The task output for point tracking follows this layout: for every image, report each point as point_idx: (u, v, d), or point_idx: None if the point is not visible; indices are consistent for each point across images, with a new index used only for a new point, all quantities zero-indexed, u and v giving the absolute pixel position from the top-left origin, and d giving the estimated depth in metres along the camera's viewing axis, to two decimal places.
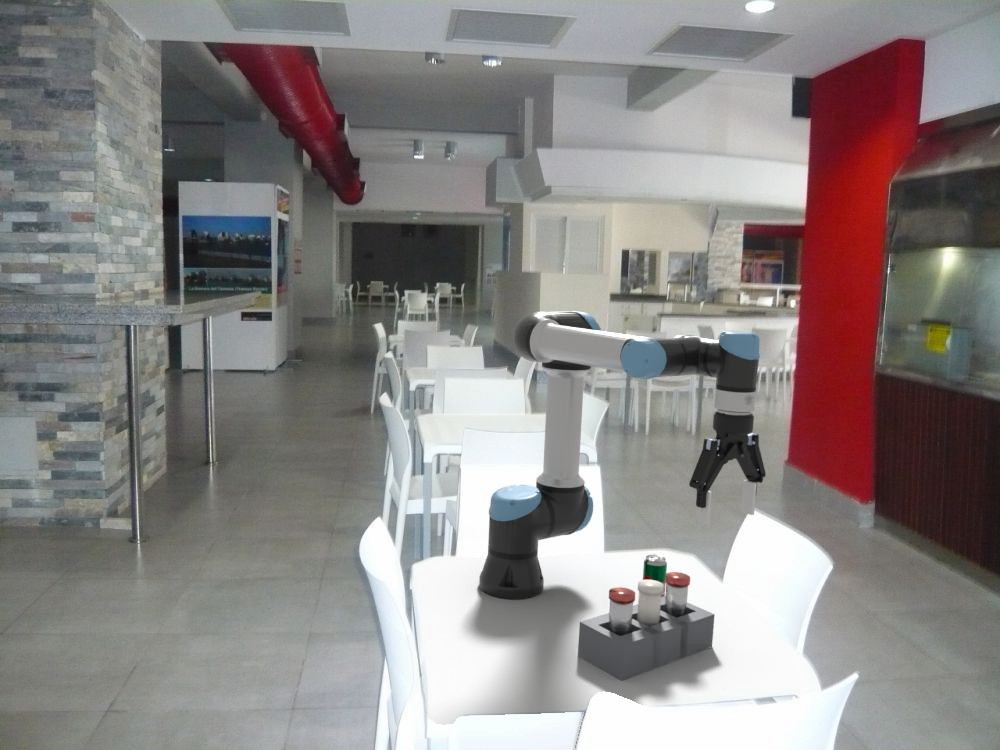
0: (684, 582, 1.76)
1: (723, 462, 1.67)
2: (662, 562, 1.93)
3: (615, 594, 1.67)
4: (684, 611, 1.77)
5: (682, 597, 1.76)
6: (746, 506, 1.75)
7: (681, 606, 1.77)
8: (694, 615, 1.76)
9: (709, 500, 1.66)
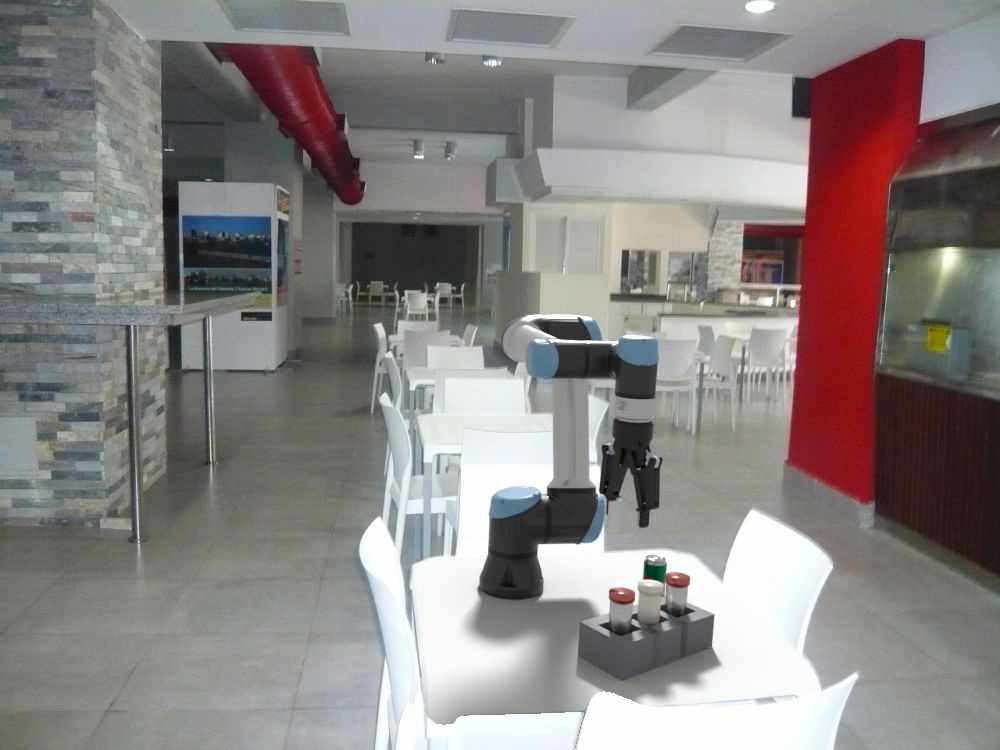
0: (684, 582, 1.76)
1: (616, 469, 1.66)
2: (662, 562, 1.93)
3: (615, 594, 1.67)
4: (684, 611, 1.77)
5: (682, 597, 1.76)
6: None
7: (681, 606, 1.77)
8: (694, 615, 1.76)
9: (609, 509, 1.68)
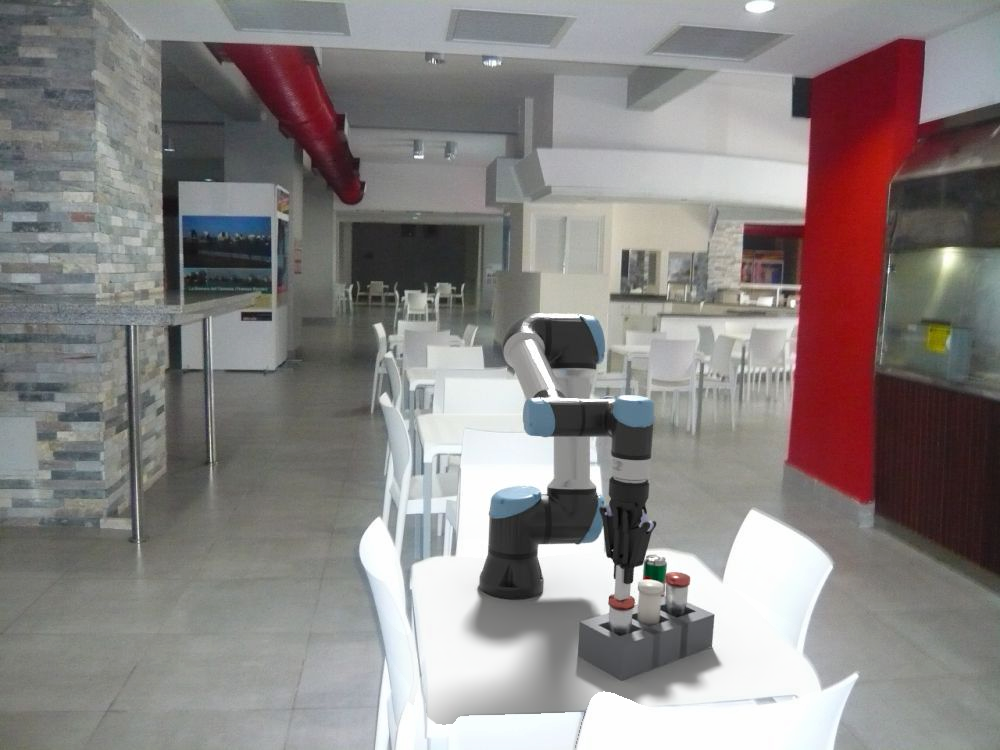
0: (684, 582, 1.76)
1: (616, 529, 1.67)
2: (662, 562, 1.93)
3: (615, 600, 1.67)
4: (684, 611, 1.77)
5: (682, 597, 1.76)
6: None
7: (681, 606, 1.77)
8: (694, 615, 1.76)
9: (616, 573, 1.67)
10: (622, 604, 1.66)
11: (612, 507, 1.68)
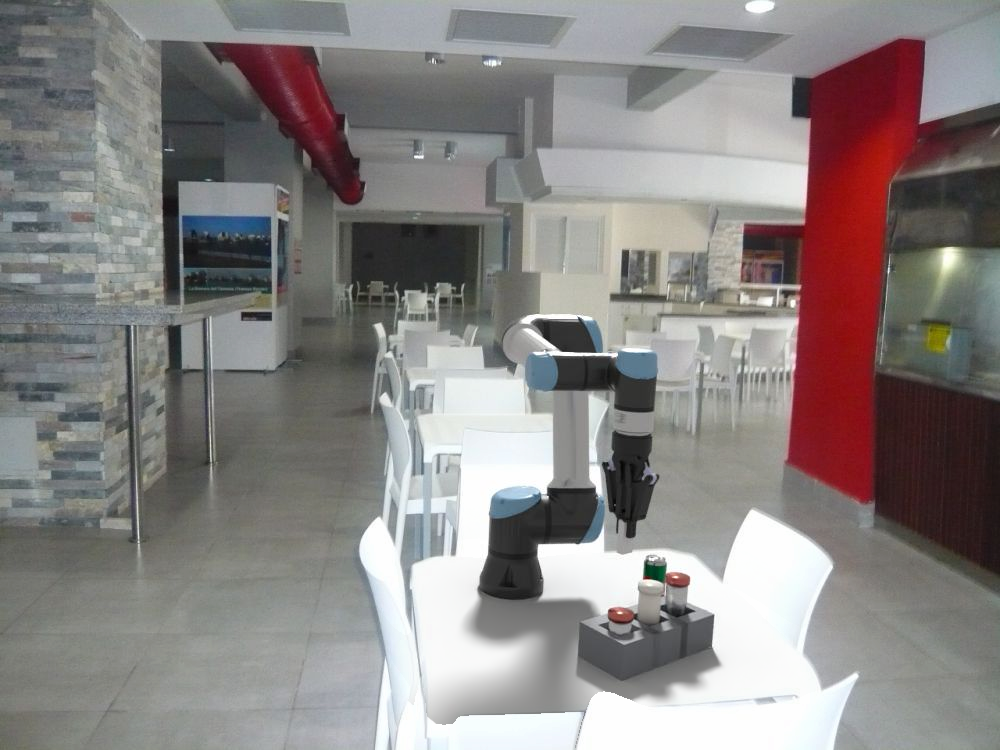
0: (684, 582, 1.76)
1: (619, 483, 1.65)
2: (662, 562, 1.93)
3: (614, 614, 1.68)
4: (684, 611, 1.77)
5: (682, 597, 1.76)
6: None
7: (681, 606, 1.77)
8: (694, 615, 1.76)
9: (619, 528, 1.66)
10: (621, 618, 1.66)
11: (615, 461, 1.66)
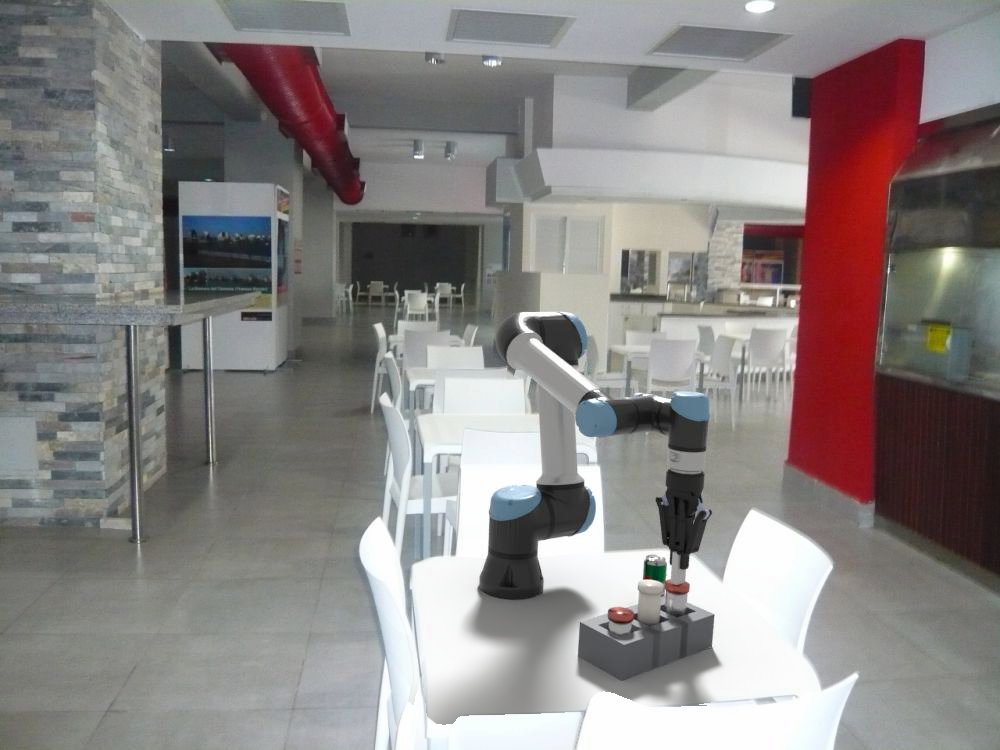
0: (683, 589, 1.76)
1: (673, 518, 1.76)
2: (662, 562, 1.93)
3: (614, 614, 1.68)
4: None
5: (681, 604, 1.77)
6: None
7: (680, 613, 1.77)
8: (694, 615, 1.76)
9: (672, 560, 1.77)
10: (621, 618, 1.66)
11: (668, 497, 1.77)
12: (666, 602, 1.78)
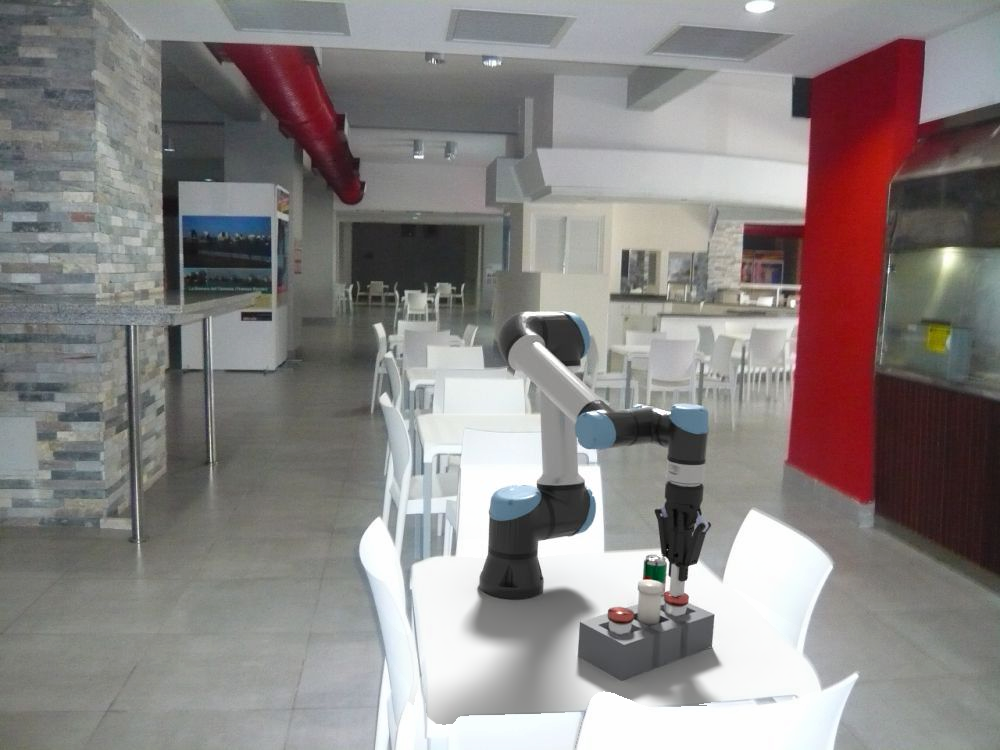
0: (683, 601, 1.76)
1: (672, 530, 1.77)
2: (662, 562, 1.93)
3: (614, 614, 1.68)
4: None
5: (681, 615, 1.77)
6: None
7: None
8: (694, 615, 1.76)
9: (671, 571, 1.77)
10: (621, 618, 1.66)
11: (667, 509, 1.78)
12: None
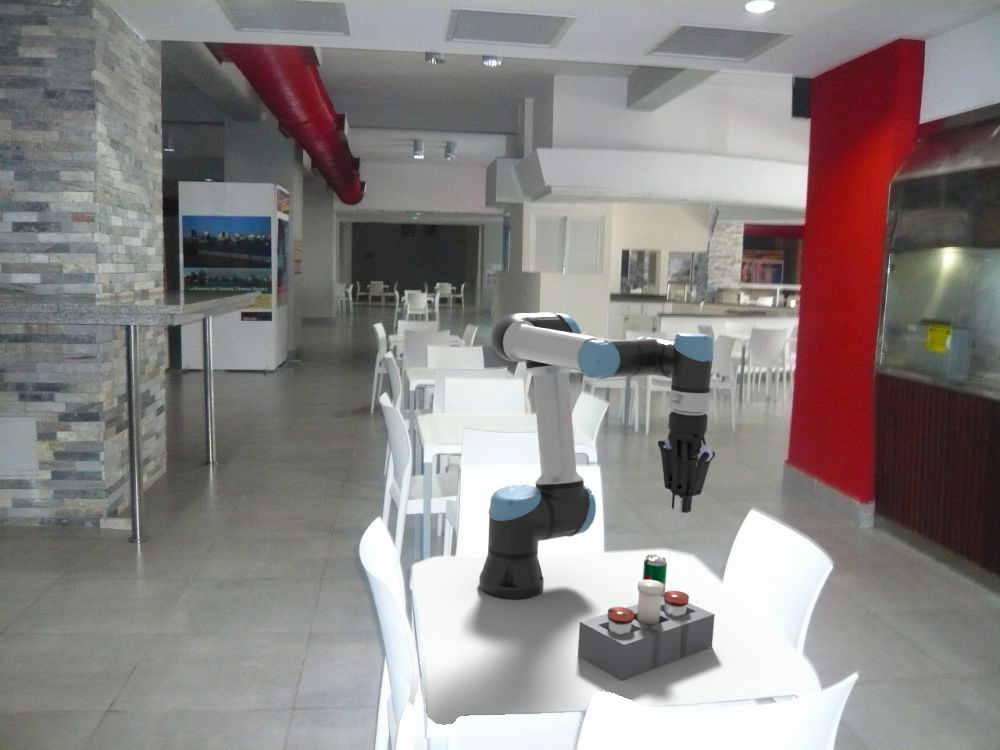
0: (683, 601, 1.76)
1: (675, 461, 1.75)
2: (662, 562, 1.93)
3: (614, 614, 1.68)
4: None
5: (681, 615, 1.77)
6: None
7: None
8: (694, 615, 1.76)
9: (675, 503, 1.76)
10: (621, 618, 1.66)
11: (671, 440, 1.76)
12: None
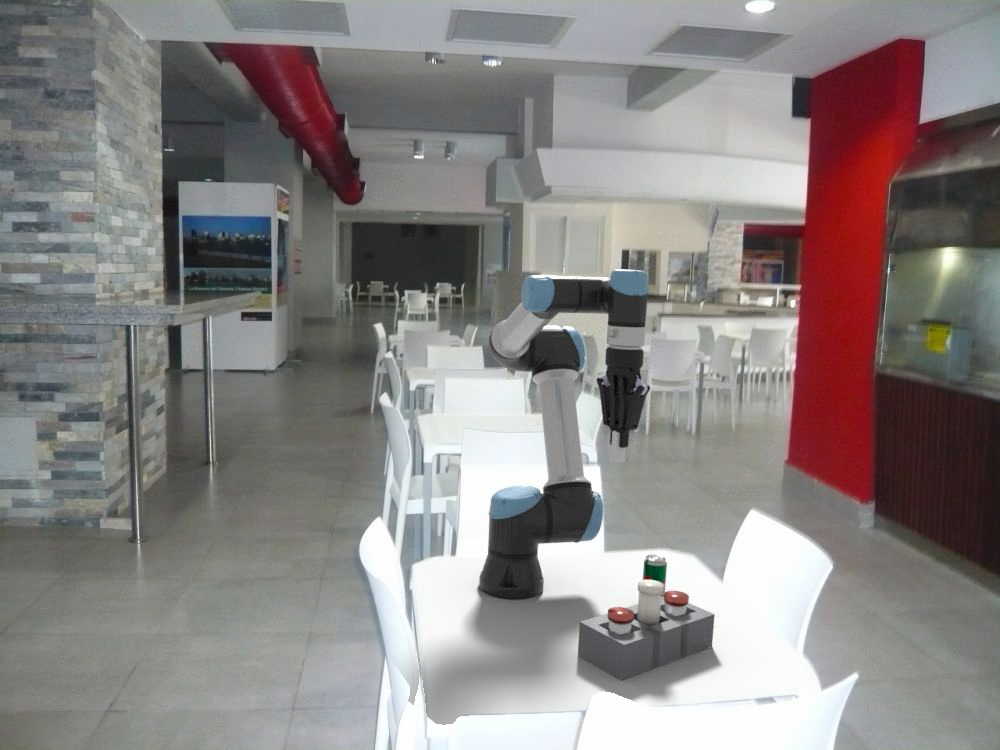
0: (683, 601, 1.76)
1: (612, 396, 1.77)
2: (662, 562, 1.93)
3: (614, 614, 1.68)
4: None
5: (681, 615, 1.77)
6: None
7: None
8: (694, 615, 1.76)
9: (612, 438, 1.78)
10: (621, 618, 1.66)
11: (608, 376, 1.78)
12: None
